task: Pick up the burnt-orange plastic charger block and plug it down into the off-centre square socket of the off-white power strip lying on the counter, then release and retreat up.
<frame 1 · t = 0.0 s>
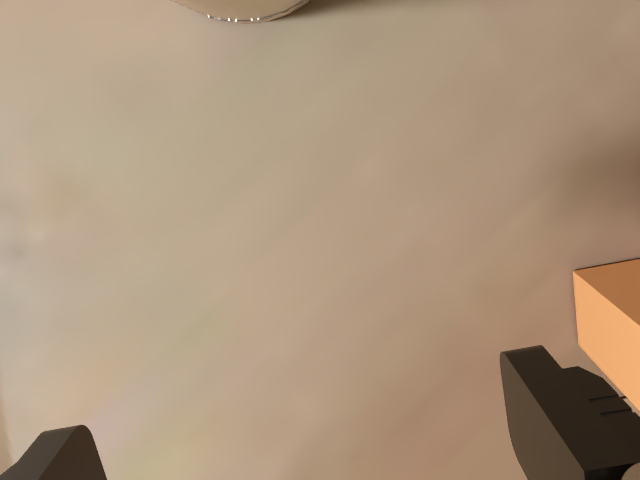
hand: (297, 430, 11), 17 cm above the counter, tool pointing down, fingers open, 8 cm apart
charger: (616, 301, 29), on the counter
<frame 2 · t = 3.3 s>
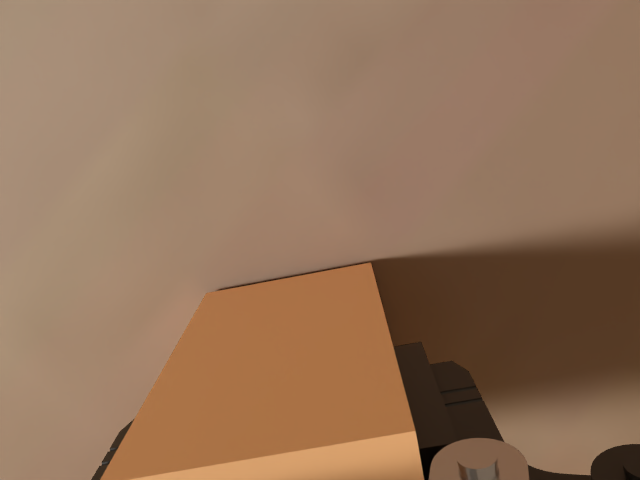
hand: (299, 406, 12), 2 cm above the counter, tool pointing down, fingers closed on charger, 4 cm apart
charger: (304, 353, 14), on the counter, touching gripper
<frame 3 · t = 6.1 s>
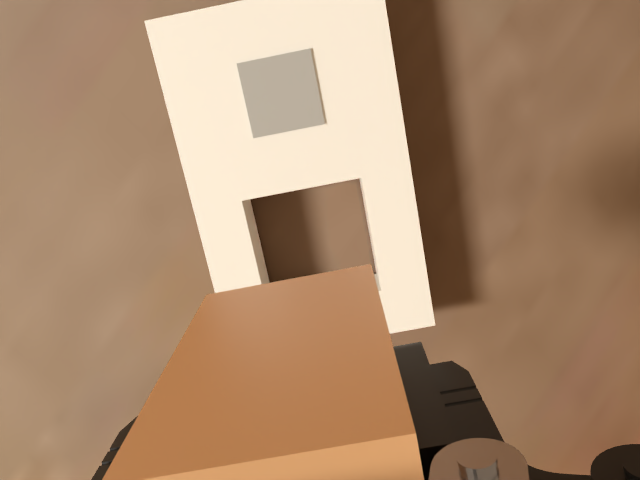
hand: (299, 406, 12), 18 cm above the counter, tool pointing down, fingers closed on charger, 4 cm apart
charger: (305, 355, 14), point 15 cm above the counter, touching gripper
power strip: (301, 174, 29), on the counter
when the fingers open (4 cm above the counter, at t = 8.8 s): charger drops 1 cm, resting in power strip.
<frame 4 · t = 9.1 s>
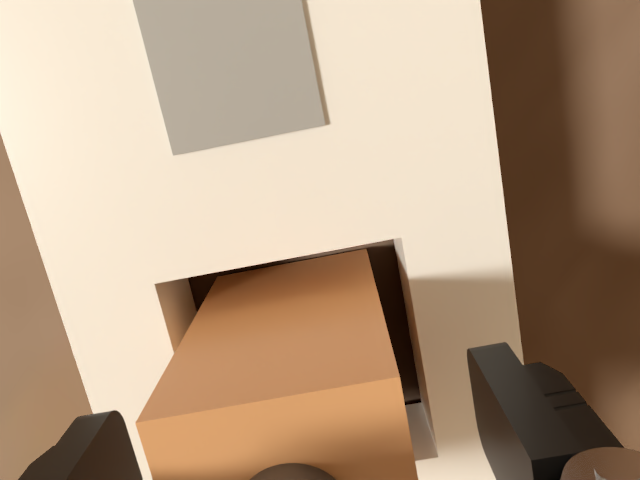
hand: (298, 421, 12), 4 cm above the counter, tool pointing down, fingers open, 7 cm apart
charger: (306, 332, 16), resting in power strip
power strip: (282, 223, 15), on the counter
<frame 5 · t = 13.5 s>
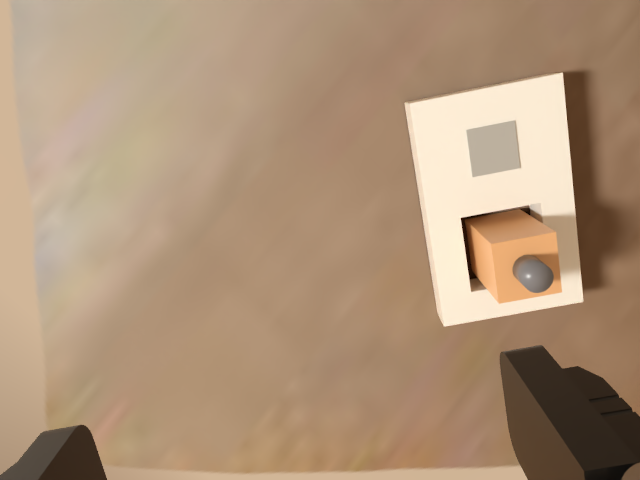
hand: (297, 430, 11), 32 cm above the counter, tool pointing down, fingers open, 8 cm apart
charger: (495, 240, 43), resting in power strip
power strip: (490, 199, 43), on the counter
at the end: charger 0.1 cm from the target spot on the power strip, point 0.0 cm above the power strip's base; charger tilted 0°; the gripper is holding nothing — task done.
